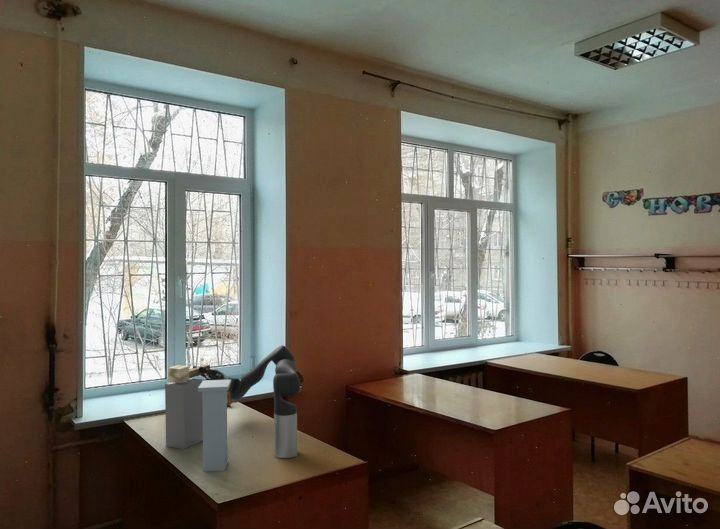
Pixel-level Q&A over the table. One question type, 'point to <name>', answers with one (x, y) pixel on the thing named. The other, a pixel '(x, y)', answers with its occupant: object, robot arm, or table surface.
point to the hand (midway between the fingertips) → (196, 368)
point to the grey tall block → (183, 413)
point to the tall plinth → (214, 424)
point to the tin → (228, 399)
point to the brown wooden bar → (183, 373)
